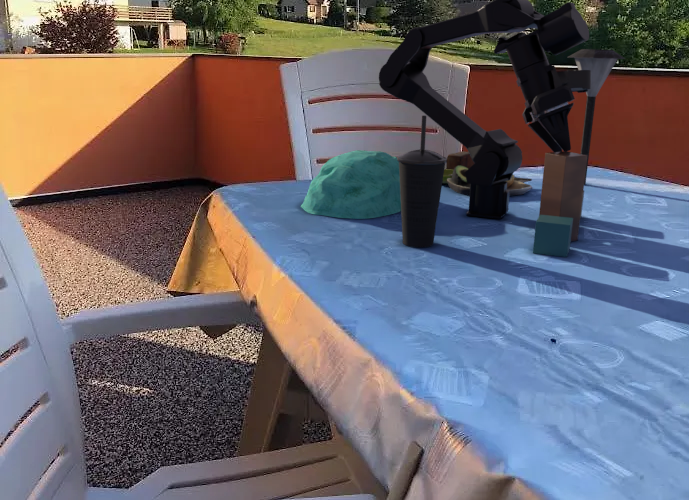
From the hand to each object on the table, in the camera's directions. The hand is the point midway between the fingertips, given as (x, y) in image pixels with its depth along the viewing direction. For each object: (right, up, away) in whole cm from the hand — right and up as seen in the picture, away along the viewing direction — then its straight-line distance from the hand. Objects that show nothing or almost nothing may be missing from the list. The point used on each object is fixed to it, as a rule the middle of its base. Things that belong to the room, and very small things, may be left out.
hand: (563, 152), depth 122 cm
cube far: (+3, -11, +9) cm, 15 cm away
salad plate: (-7, -4, +34) cm, 35 cm away
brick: (-9, +3, +55) cm, 56 cm away
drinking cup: (-26, -16, -9) cm, 32 cm away
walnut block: (-3, -15, -5) cm, 16 cm away
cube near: (-6, -17, -12) cm, 22 cm away
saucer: (-14, -1, +41) cm, 43 cm away
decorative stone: (-35, -8, +19) cm, 40 cm away
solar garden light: (+17, -2, +42) cm, 46 cm away
